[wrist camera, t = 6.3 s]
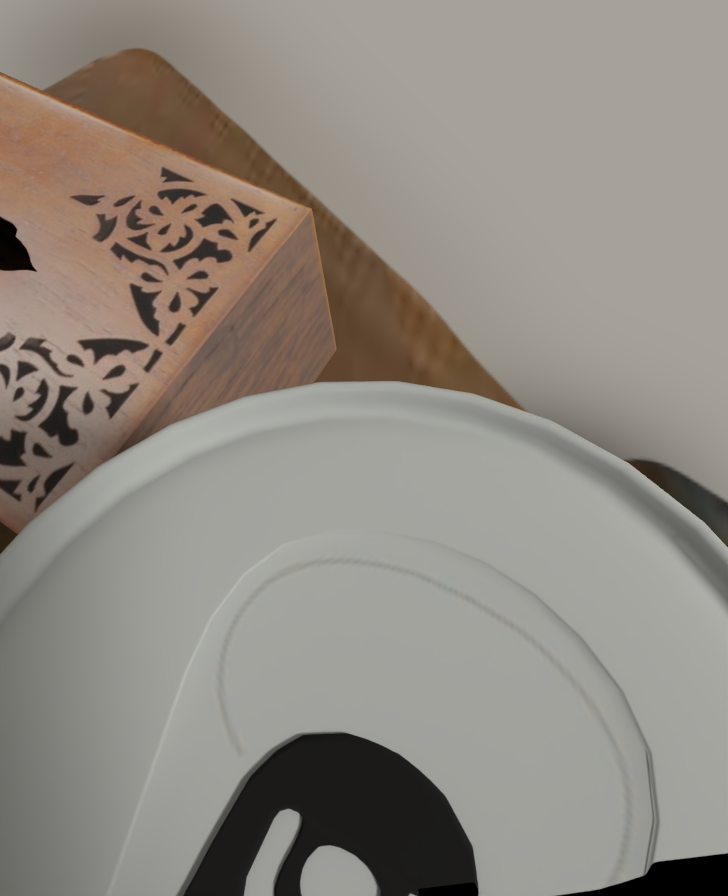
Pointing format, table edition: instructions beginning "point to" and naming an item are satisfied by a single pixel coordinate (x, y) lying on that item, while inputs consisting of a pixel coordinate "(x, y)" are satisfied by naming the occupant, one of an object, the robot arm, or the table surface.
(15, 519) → the tissue box cover
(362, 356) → the table surface
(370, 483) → the energy drink can
